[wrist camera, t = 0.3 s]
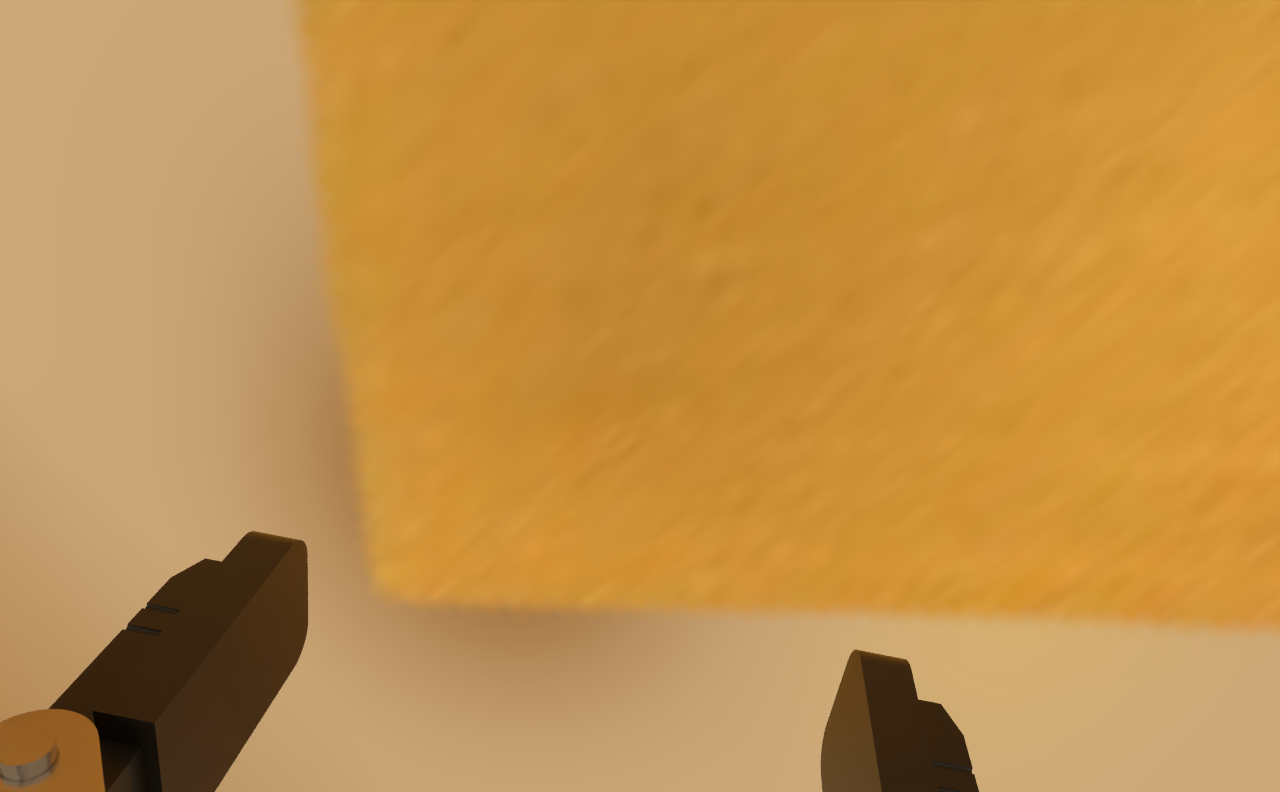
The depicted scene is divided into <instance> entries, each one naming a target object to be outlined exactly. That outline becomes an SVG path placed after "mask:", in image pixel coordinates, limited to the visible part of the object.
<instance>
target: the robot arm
mask: <svg viewBox="0 0 1280 792" xmlns="http://www.w3.org/2000/svg"><path fill="white" fill-rule="evenodd" d="M307 628H308V567H307V547H306V545H305V543H304V541H302V540H296V539H291V538H286V537H281V536H276V535H271V534H265V533H260V532H255V531H252V532H249V533H247V534H246V535H245V536H244V537H243V538H242V539H241V540H240V542H239V543H238V544H237V545H236V546H235V547H234V548H233V550H232V551H231V552H230V553H229V554H228V555H227V557H226V558H225V559H224V560H223V561H222V562H220V561H215V560H210V559H204V560H202V561H200V562H198V563H196V564H195V565H193V566H191V567H189V568H187V569H186V570H184V571H182V572H180V573H178V574H177V575H175V576H173V577H171V578H170V579H169V580H168V581H167V582H166V584H165V585H164V586H163V587H162V588H161V589H160V590H159V591H158V592H157V593H156V594H155V596H153V597H152V598H151V599H150V601H149V602H148V603H147V606H146V608H145V609H143V608H142V609H141V610H140V611H139V613H137V615H136V616H135V617H134V618H133V619H132V620H131V621H130V622H129V623H128V626H127V629H126V630H122V631H121V632H120V633H119V634H118V635H117V636H116V637H115V638H114V639H113V640H112V641H111V643H110V644H109V645H108V646H107V647H106V648H105V649H104V650H103V651H102V652H101V653H100V654H99V655H98V656H97V658H96V659H95V660H94V661H93V662H92V663H91V664H90V665H89V666H88V667H87V668H86V669H85V670H84V671H83V673H82V674H81V675H80V676H79V677H78V678H77V679H76V680H75V681H74V682H73V683H72V684H71V685H70V687H69V688H68V689H67V690H66V691H65V692H64V693H63V694H62V695H61V696H60V697H59V698H58V699H57V701H56V702H55V703H54V704H53V705H52V706H51V707H50V708H49V709H45V710H36V711H31V712H26V713H23V714H19V715H16V716H13V717H11V718H8V719H6V720H3V721H2V722H0V792H215V790H216V788H217V787H218V786H219V784H220V782H221V781H222V779H223V778H224V776H225V775H226V773H227V772H228V770H229V768H230V767H231V765H232V764H233V762H234V761H235V759H236V758H237V756H238V754H239V753H240V751H241V750H242V748H243V747H244V745H245V743H246V742H247V740H248V739H249V737H250V736H251V734H252V733H253V731H254V729H255V728H256V726H257V725H258V723H259V722H260V720H261V718H262V717H263V715H264V714H265V712H266V711H267V709H268V707H269V706H270V704H271V703H272V701H273V700H274V698H275V697H276V695H277V693H278V692H279V690H280V689H281V687H282V686H283V684H284V682H285V681H286V679H287V678H288V676H289V675H290V673H291V672H292V670H293V668H294V667H295V665H296V663H297V661H298V659H299V657H300V654H301V651H302V649H303V646H304V643H305V639H306V634H307ZM821 779H822V789H823V792H979V790H978V787H977V783H976V779H975V776H974V774H972V765H971V761H970V758H969V754H968V750H967V747H966V743H965V739H964V736H963V734H962V733H961V731H960V730H959V729H958V727H957V726H956V724H955V723H954V722H953V720H952V719H951V717H950V716H949V715H948V713H947V712H946V711H945V709H944V708H943V706H942V705H941V704H937V703H933V702H928V701H923V700H918V697H917V693H916V688H915V684H914V680H913V675H912V671H911V667H910V664H909V663H908V661H907V660H905V659H900V658H895V657H891V656H885V655H880V654H875V653H870V652H865V651H860V650H854V651H853V652H852V653H851V655H850V657H849V660H848V662H847V665H846V669H845V671H844V674H843V677H842V681H841V683H840V686H839V689H838V692H837V695H836V698H835V701H834V704H833V707H832V710H831V713H830V716H829V719H828V722H827V725H826V728H825V733H824V738H823V744H822V752H821Z"/></svg>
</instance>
